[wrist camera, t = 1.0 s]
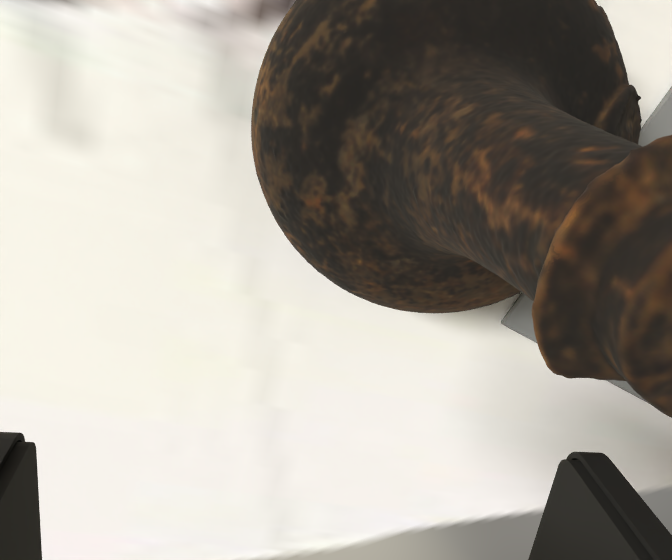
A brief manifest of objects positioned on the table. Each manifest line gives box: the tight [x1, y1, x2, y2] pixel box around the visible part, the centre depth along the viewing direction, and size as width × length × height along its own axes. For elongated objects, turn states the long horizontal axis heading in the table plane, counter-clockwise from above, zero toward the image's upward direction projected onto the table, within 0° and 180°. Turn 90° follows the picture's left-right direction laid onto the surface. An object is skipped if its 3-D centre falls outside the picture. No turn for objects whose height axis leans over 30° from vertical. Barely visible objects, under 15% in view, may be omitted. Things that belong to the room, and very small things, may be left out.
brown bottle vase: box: [251, 0, 672, 418], centre depth 23 cm, size 18×18×28 cm
